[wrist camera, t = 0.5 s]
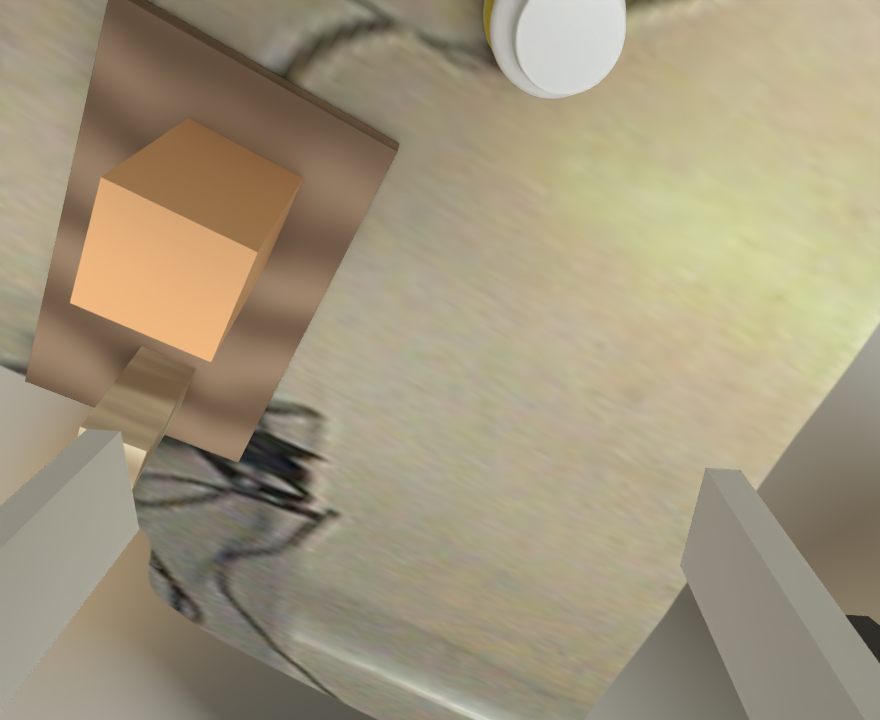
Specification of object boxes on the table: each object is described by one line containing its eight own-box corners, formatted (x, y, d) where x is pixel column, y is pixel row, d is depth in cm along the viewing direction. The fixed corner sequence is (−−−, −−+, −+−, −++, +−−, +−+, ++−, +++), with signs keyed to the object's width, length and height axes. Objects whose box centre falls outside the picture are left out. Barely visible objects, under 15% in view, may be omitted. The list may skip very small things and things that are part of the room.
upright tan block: (188, 118, 32) (100, 177, 24) (303, 178, 33) (257, 252, 26) (156, 220, 35) (69, 302, 27) (262, 271, 37) (211, 362, 29)
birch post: (141, 346, 40) (80, 426, 33) (196, 368, 41) (146, 451, 34) (128, 384, 42) (67, 468, 35) (180, 405, 43) (131, 491, 36)
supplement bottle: (531, 94, 32) (557, 145, 24) (459, 11, 30) (461, 37, 22) (615, 10, 30) (675, 36, 22) (544, -86, 28) (581, -96, 20)
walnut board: (124, -12, 30) (110, -10, 29) (399, 143, 34) (397, 151, 33) (37, 368, 43) (25, 381, 42) (243, 448, 47) (238, 462, 46)
